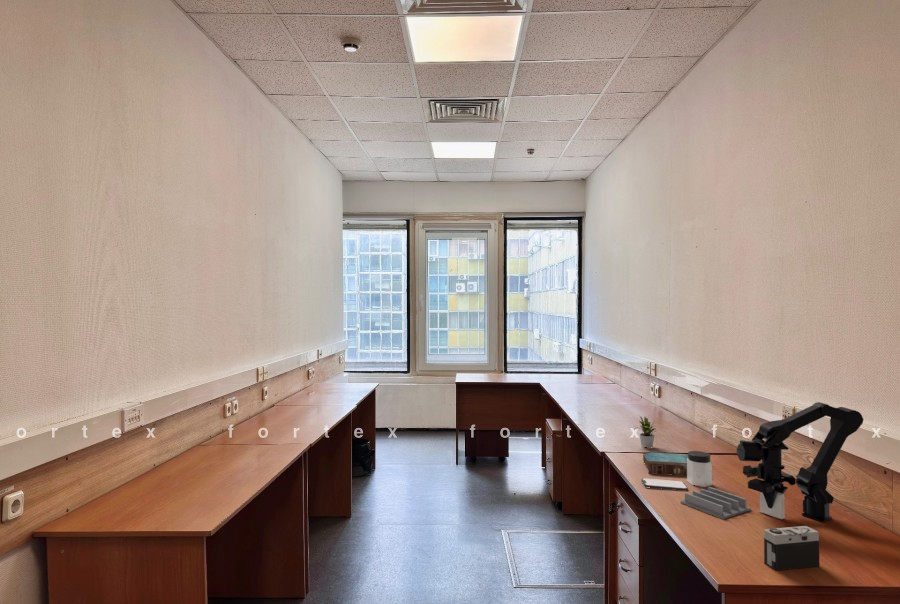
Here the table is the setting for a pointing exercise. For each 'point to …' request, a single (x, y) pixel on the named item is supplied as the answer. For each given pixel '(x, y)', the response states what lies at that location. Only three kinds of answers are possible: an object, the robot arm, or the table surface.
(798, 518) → the table surface
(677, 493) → the table surface
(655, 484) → the phone case
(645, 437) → the house plant
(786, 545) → the camera
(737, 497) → the dish rack
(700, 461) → the jar
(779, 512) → the white slab
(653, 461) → the brown teal box
